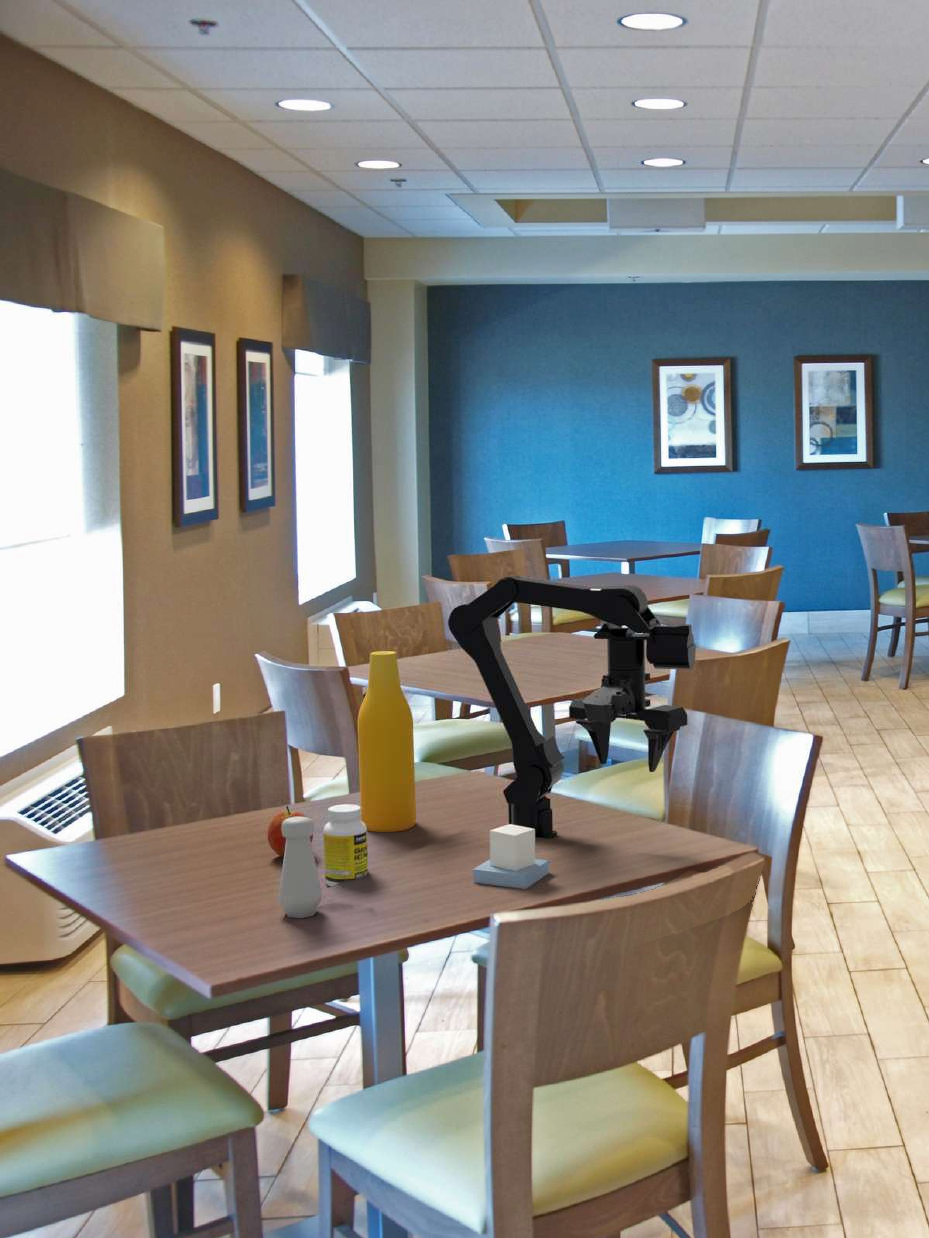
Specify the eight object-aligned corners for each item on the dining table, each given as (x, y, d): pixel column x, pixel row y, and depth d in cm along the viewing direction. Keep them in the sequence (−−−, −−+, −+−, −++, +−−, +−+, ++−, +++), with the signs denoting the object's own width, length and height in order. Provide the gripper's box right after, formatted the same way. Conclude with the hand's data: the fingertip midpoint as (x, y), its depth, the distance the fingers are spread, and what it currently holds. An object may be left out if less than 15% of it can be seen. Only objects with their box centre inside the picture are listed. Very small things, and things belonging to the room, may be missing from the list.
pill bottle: (362, 890, 194) (359, 813, 192) (319, 888, 195) (316, 812, 194) (373, 877, 200) (371, 802, 198) (332, 875, 201) (329, 802, 200)
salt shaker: (280, 907, 187) (276, 813, 186) (322, 905, 188) (319, 811, 186) (278, 921, 181) (274, 824, 180) (322, 918, 182) (318, 822, 180)
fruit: (322, 852, 213) (320, 802, 212) (298, 864, 207) (296, 813, 206) (284, 848, 216) (282, 798, 215) (259, 860, 210) (257, 809, 209)
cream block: (490, 865, 193) (489, 830, 192) (510, 858, 196) (509, 823, 196) (515, 870, 190) (514, 835, 189) (535, 863, 193) (534, 828, 193)
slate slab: (473, 883, 191) (472, 869, 191) (498, 867, 199) (497, 854, 198) (525, 889, 188) (525, 875, 188) (549, 874, 195) (548, 860, 195)
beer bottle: (427, 822, 230) (422, 650, 227) (395, 835, 222) (389, 657, 219) (382, 816, 235) (376, 647, 232) (349, 828, 227) (343, 654, 224)
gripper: (545, 669, 211) (547, 769, 213) (646, 679, 199) (647, 785, 200) (589, 660, 219) (591, 756, 221) (689, 670, 207) (689, 772, 208)
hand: (627, 767), depth 212 cm, fingers open, 9 cm apart
